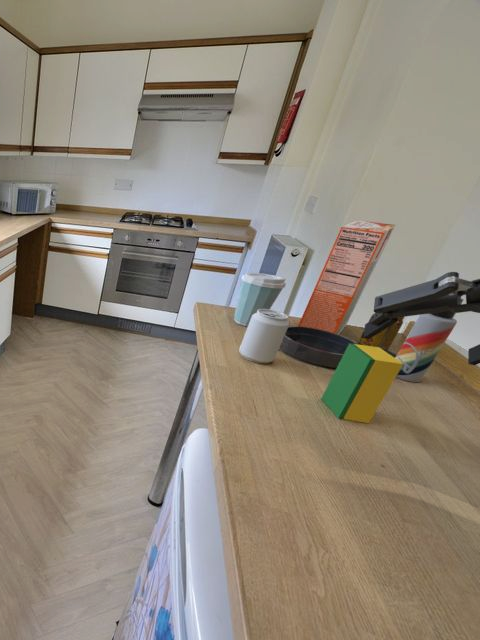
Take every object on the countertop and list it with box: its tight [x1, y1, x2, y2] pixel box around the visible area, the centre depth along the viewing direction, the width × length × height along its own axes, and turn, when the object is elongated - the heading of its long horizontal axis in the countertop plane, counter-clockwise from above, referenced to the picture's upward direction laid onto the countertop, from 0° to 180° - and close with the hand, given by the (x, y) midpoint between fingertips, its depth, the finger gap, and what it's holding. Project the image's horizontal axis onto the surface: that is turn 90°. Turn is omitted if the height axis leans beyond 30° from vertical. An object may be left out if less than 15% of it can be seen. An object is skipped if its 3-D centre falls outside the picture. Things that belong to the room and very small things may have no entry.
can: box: [238, 308, 290, 364], centre depth 98 cm, size 8×8×12 cm
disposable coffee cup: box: [233, 272, 287, 328], centre depth 119 cm, size 11×11×15 cm
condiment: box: [357, 317, 405, 357], centre depth 106 cm, size 7×8×12 cm
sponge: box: [320, 343, 403, 424], centre depth 78 cm, size 5×7×13 cm
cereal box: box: [297, 219, 397, 335], centre depth 113 cm, size 23×8×30 cm, turn 131°
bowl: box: [279, 325, 360, 369], centre depth 104 cm, size 17×17×4 cm
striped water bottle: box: [394, 298, 464, 383], centre depth 92 cm, size 6×6×20 cm
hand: (417, 344), depth 67 cm, fingers open, 13 cm apart
